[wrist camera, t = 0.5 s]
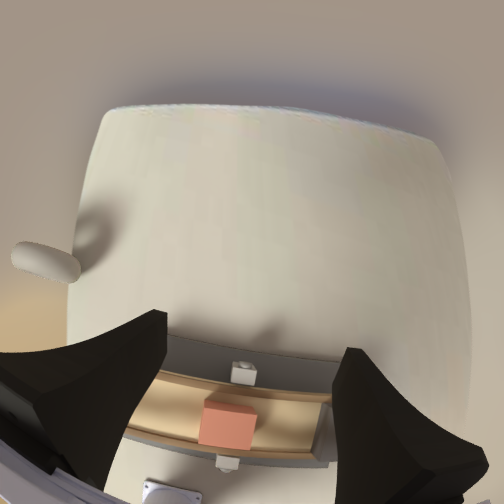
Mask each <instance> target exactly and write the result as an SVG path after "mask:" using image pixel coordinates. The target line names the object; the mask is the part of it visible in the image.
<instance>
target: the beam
mask: <svg viewBox="0 0 504 504" xmlns="http://www.w3.org/2000/svg"><path fill="white" fill-rule="evenodd" d="M204 399H205V400H211V401H217V402H223V403H230V404H237V405H244V406H252V407H253V408H254V410H255V412H256V414H257V419H256V424H255V429H254V434H253V439H252V443H251V448H250V450H240V449H231V448H223V447H216V446H209V445H203V444H198V439H199V429H200V423H201V417H202V411H203V405H204ZM124 433H125V434H128V435H132V436H135V437H139V438H143V439H147V440H151V441H155V442H159V443H163V444H167V445H172V446H177V447H182V448H187V449H193V450H198V451H204V452H211V453H218V454H226V455H234V456H244V457H256V458H272V459H317V460H318V461H319V462H335V461H338V456H337V444H336V435H335V427H334V419H333V411H332V394H326V393H310V392H297V391H285V390H276V389H267V388H259V387H251V386H244V385H237V384H230V383H224V382H218V381H213V380H207V379H202V378H197V377H192V376H187V375H182V374H177V373H173V372H168V371H164V370H159V372H158V374H157V376H156V377H155V379H154V380H153V382H152V384H151V385H150V387H149V388H148V390H147V392H146V393H145V395H144V396H143V398H142V400H141V401H140V403H139V404H138V406H137V408H136V409H135V411H134V413H133V415H132V417H131V419H130V421H129V423H128V425H127V428H126V430H125V432H124Z"/></svg>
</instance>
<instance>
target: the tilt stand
mask: <svg viewBox="0 0 504 504" xmlns="http://www.w3.org/2000/svg"><path fill="white" fill-rule="evenodd" d="M340 364H341V362H331V361H321V360H312V359H303V358H295V357H287V356H280V355H273V354H266V353H260V352H253V351H247V350H241V349H236V348H230V347H225V346H219V345H214V344H209V343H204V342H199V341H195V340H190V339H185V338H181V337H176V336H172V335H168V334H167V354H166V357H165V359H164V361H163V364H162V366H161V368H160V370H164V371H168V372H173V373H177V374H182V375H187V376H192V377H197V378H202V379H207V380H213V381H218V382H224V383H230V384H237V385H244V386H251V387H259V388H267V389H276V390H285V391H297V392H310V393H326V394H332V383H333V381H334V378H335V376H336V374H337V371H338V369H339V366H340ZM123 437H124V438H127V439H130V440H134V441H137V442H140V443H144V444H147V445H150V446H154V447H158V448H162V449H166V450H170V451H174V452H178V453H182V454H187V455H192V456H197V457H202V458H207V459H213V460H216V464H215V467H219V470H220V471H222V472H227V473H228V472H231V471H232V469H233V470H238V465H239V463H240V464H249V465H258V466H270V467H287V468H328V465H329V462H319V461H318V460H317V459H272V458H256V457H244V456H234V455H226V454H218V453H211V452H204V451H198V450H193V449H187V448H182V447H177V446H172V445H167V444H163V443H159V442H155V441H151V440H147V439H143V438H139V437H135V436H132V435H128V434H125V433H124V434H123Z"/></svg>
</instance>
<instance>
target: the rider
mask: <svg viewBox="0 0 504 504" xmlns="http://www.w3.org/2000/svg"><path fill="white" fill-rule="evenodd" d="M256 419H257V414H256V412H255V410H254V408H253V407H252V406H244V405H237V404H230V403H223V402H217V401H211V400H205V399H204V405H203V411H202V417H201V423H200V429H199V439H198V444H203V445H209V446H216V447H223V448H231V449H240V450H250V448H251V443H252V439H253V434H254V429H255V424H256Z"/></svg>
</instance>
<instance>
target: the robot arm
mask: <svg viewBox="0 0 504 504" xmlns="http://www.w3.org/2000/svg"><path fill="white" fill-rule="evenodd" d="M166 354H167V313H166V312H162V311H159V310H155V309H153V310H151V311H149V312H147V313H145V314H143V315H141V316H139V317H137V318H135V319H133V320H131V321H129V322H127V323H125V324H123V325H121V326H119V327H117V328H115V329H113V330H110V331H108V332H106V333H103V334H101V335H99V336H97V337H94V338H91V339H88V340H86V341H82V342H79V343H76V344H73V345H69V346H64V347H60V348H55V349H51V350H44V351H35V352H23V353H2V352H0V497H1V498H2V499H4V500H5V501H6V502H7V503H8V504H130V503H127V502H125V501H123V500H120V499H118V498H116V497H113V496H111V495H109V494H107V493H104V492H103V491H104V487H105V484H106V481H107V477H108V474H109V471H110V468H111V465H112V462H113V460H114V457H115V454H116V451H117V449H118V446H119V444H120V442H121V439H122V437H123V434H124V432H125V430H126V428H127V425H128V423H129V421H130V419H131V417H132V415H133V413H134V411H135V409H136V408H137V406H138V404H139V403H140V401H141V400H142V398H143V396H144V395H145V393H146V392H147V390H148V388H149V387H150V385H151V384H152V382H153V380H154V379H155V377H156V376H157V374H158V372H159V370H160V368H161V366H162V364H163V361H164V359H165V357H166ZM332 411H333V419H334V427H335V435H336V444H337V456H338V464H337V486H336V498H335V504H462V503H463V502H464V498H463V493H465V492H466V491H467V490H468V489H470V488H471V487H472V486H473V485H474V484H476V483H477V482H478V481H479V480H480V479H481V478H482V477H483V476H484V475H485V473H486V472H487V470H488V467H489V464H488V461H487V458H486V456H485V454H484V451H483V449H482V448H481V447H479V446H477V445H474V444H472V443H470V442H467V441H465V440H463V439H461V438H459V437H457V436H455V435H453V434H452V433H450V432H448V431H446V430H445V429H443V428H441V427H440V426H438V425H437V424H436V423H434V422H433V421H431V420H430V419H428V418H427V417H426V416H424V415H423V414H422V413H421V412H420V411H418V410H417V409H416V408H415V407H414V406H413V405H411V404H410V403H409V402H408V401H407V400H406V399H405V398H404V397H403V396H402V395H401V394H400V393H399V392H398V391H397V390H396V389H395V388H394V386H393V385H392V384H391V383H390V382H389V381H388V380H387V379H386V377H385V376H384V375H383V374H382V373H381V371H380V370H379V369H378V368H377V367H376V365H375V364H374V363H373V362H372V361H371V359H370V358H369V357H368V356H367V355H366V353H365V352H364V351H363V350H362V349H358V348H350V347H347V349H346V352H345V354H344V357H343V359H342V362H341V364H340V366H339V369H338V371H337V374H336V376H335V378H334V381H333V383H332ZM146 485H147V486H148V487H147V486H146ZM197 497H198V498H199V499H197ZM201 500H202V494H201V493H199V492H194V491H189V490H184V489H179V488H175V487H171V486H167V485H163V484H159V483H155V482H151V481H148V480H145V481H144V483H143V498H142V504H201ZM477 504H491V503H490V500H485V501H483V502H480V503H477Z"/></svg>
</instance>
